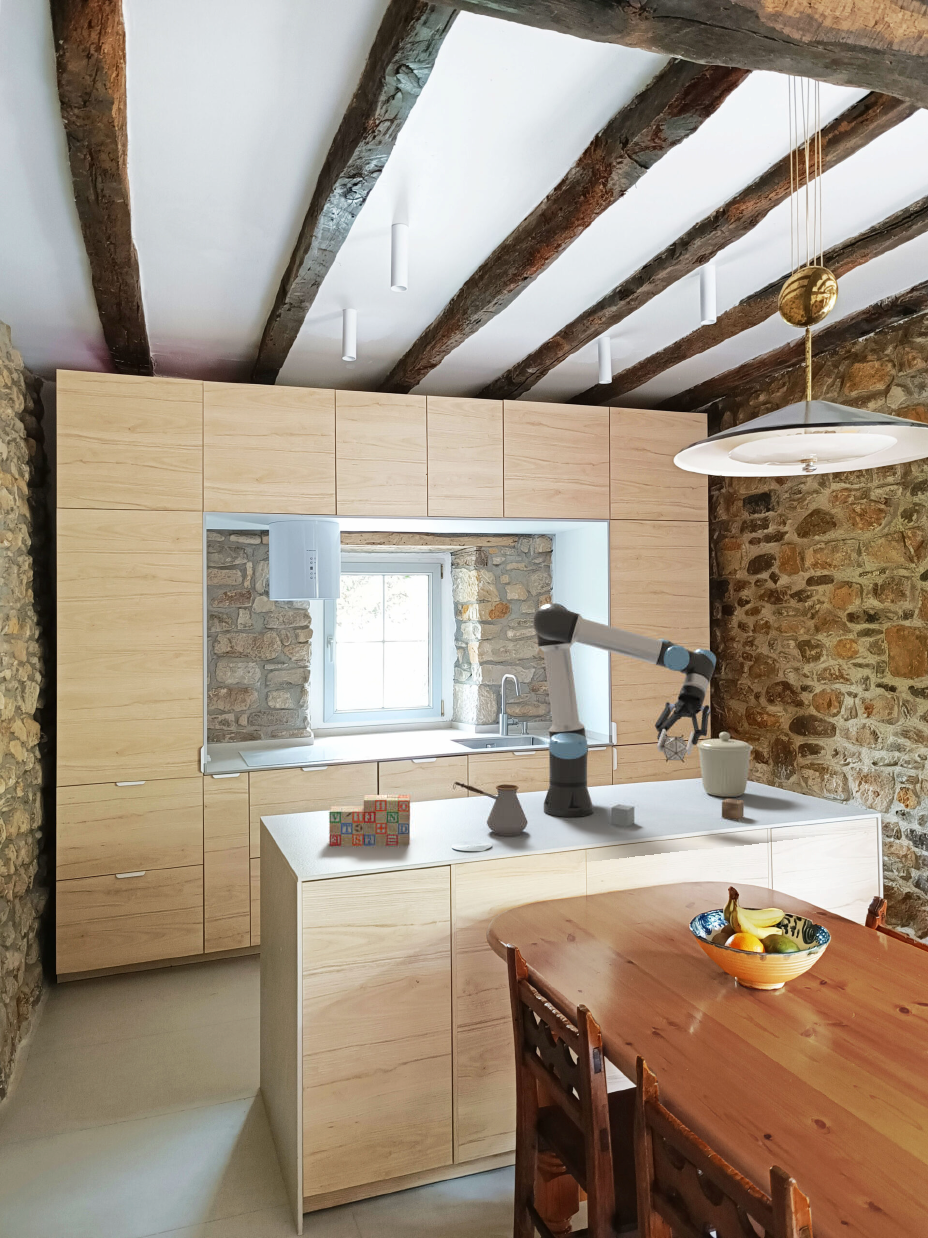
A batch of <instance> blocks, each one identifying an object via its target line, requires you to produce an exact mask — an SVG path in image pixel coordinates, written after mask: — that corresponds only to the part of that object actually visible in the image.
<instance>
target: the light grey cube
mask: <svg viewBox="0 0 928 1238" xmlns="http://www.w3.org/2000/svg"><path fill="white" fill-rule="evenodd" d="M610 811H611V814H610V819H611V821H610V824H611V825H613V826H618V827H619V826H620V827H625V826H627V827H626V828H628V827H630V826H632V825H634V824H635V806H634V805H633V806H632V805H626V804H621V803H619V804H615V805H614V806H612V807H611V808H610Z"/></svg>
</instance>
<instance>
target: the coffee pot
mask: <svg viewBox="0 0 928 1238" xmlns="http://www.w3.org/2000/svg"><path fill="white" fill-rule="evenodd" d="M457 786H458V787H459V786H460V788H462V789H466V790H468V791H470V792H473V793H476V794H480V795H484V796H486V797H488V798H491V799H493V800H494V803H493V805H492V808H491V811H490V812H489V816H488V817H487V820H486V825H487V827H488V829H489V830H491V831H492V832H493V833H494V835H497V836H504V837H505V836H506V837H510V836H511V837H512V836H517V835H520V834H521V833H522V832H523V831H524V830H525V829H526V828H527V826H528V824H529V822H528V820H527V817H526V814H525V812H524V809H523V807H522V805H521V802H520V800H519V798H518V794H517V792H518V789H519V786H518V785H515V784H507V783H506V784H504V783H503V784H498V785H496V786H495V789H496V790H497V795H494V794H491V793H488V792H485V791H483V790H481V789H479V788H476V787H474V786H472V785H467V784H465V783H461V782H459V781H455V782H454V783H453V785H452V789H453V790H455V789H456V787H457Z"/></svg>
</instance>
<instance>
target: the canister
mask: <svg viewBox="0 0 928 1238" xmlns="http://www.w3.org/2000/svg"><path fill="white" fill-rule="evenodd" d="M718 736H719V738H711V739H710V738H709V739H704V740H701V741H700V742H699V743H698V742H697V744H696V747H697V748H698V752H699V762H700V772H701V780H702V781H701V782H702V786H703V789H704V791H705V792H706V793H707V794H709V795H711V796H715V797H721V798H736V797H741V796H742V795H744V793H745V792H746V788H747V784H748V778H749V769H750V760H751V751H752V750H753V749H754V748H753V746H752V745H750V744H749V743H748V742H746V741H743V740H740V739H739V740H738V739H732V738H731V734H730V733H729V732H728V731H727V732H726V731H722V732H720V733H719V735H718Z"/></svg>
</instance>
